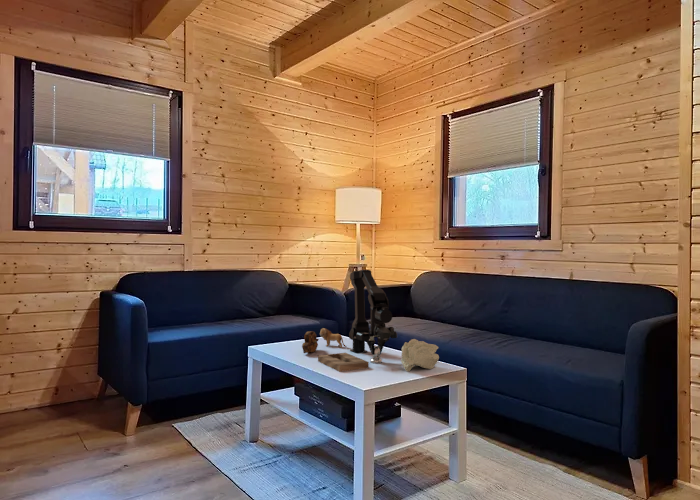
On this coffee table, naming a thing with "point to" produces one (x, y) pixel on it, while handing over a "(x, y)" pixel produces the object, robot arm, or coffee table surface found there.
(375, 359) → the steel peg
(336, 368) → the keyhole plate
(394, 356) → the coffee table surface
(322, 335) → the lion figurine
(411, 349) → the folded clay sculpture
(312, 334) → the wooden carving
